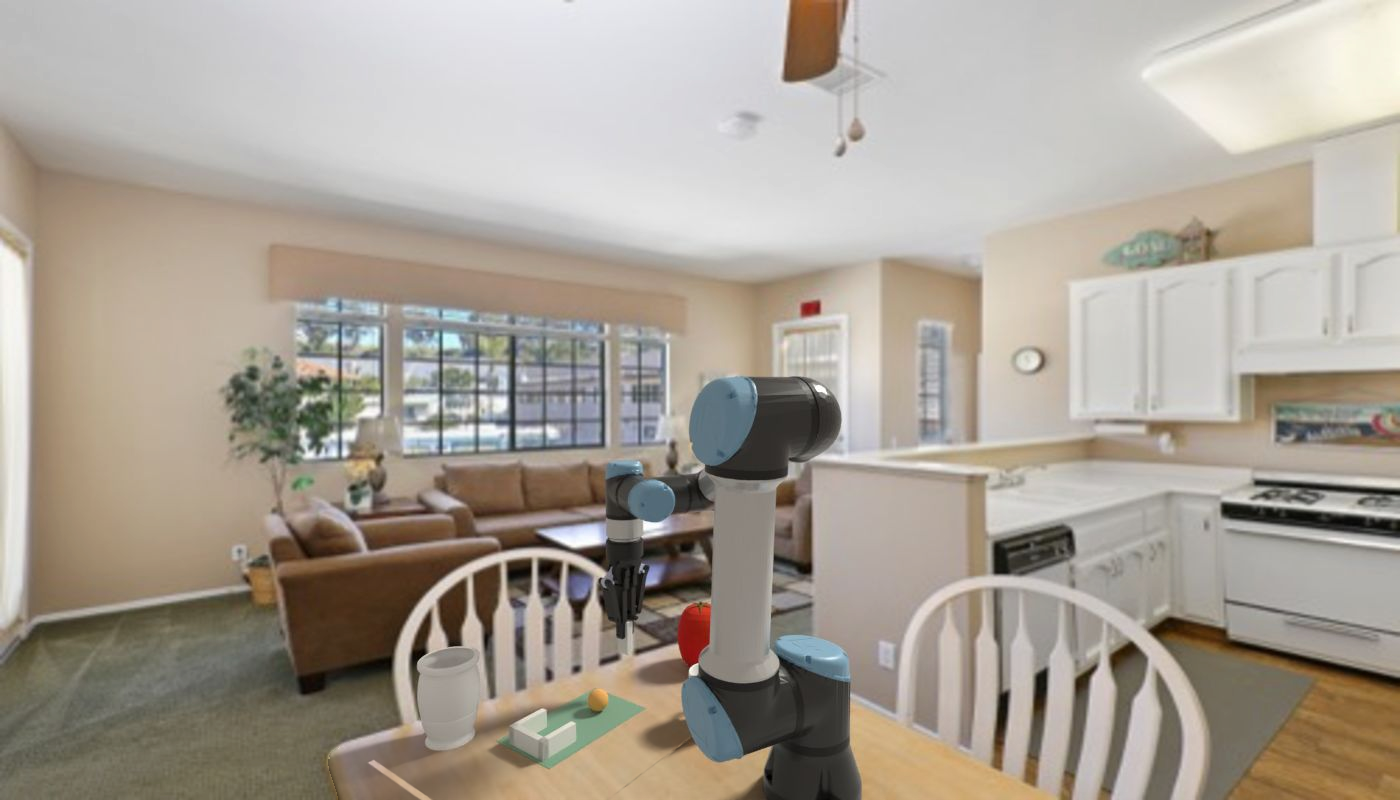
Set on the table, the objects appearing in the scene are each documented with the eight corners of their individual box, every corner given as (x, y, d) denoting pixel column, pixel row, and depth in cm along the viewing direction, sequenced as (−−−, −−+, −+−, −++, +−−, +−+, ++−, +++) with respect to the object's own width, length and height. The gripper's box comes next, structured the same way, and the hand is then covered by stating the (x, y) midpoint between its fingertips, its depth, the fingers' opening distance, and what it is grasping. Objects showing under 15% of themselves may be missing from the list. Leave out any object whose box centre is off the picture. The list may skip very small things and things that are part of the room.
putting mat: (646, 711, 124) (645, 708, 124) (549, 772, 105) (549, 768, 105) (595, 690, 133) (595, 688, 133) (496, 744, 113) (496, 741, 113)
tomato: (708, 648, 153) (707, 590, 153) (740, 664, 144) (740, 602, 144) (665, 664, 145) (665, 602, 145) (697, 681, 136) (697, 616, 136)
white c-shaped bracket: (576, 741, 113) (575, 723, 113) (543, 761, 107) (542, 742, 107) (542, 725, 119) (542, 708, 118) (509, 743, 113) (509, 725, 113)
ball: (612, 708, 124) (612, 688, 124) (598, 717, 121) (597, 696, 121) (598, 702, 127) (597, 683, 126) (583, 711, 123) (583, 691, 123)
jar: (456, 718, 122) (454, 641, 122) (493, 733, 117) (492, 652, 116) (405, 746, 113) (403, 662, 113) (444, 764, 108) (442, 676, 107)
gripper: (632, 528, 137) (633, 636, 138) (587, 541, 126) (588, 658, 127) (659, 533, 132) (660, 645, 133) (615, 547, 122) (616, 669, 123)
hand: (625, 651), depth 130 cm, fingers closed
